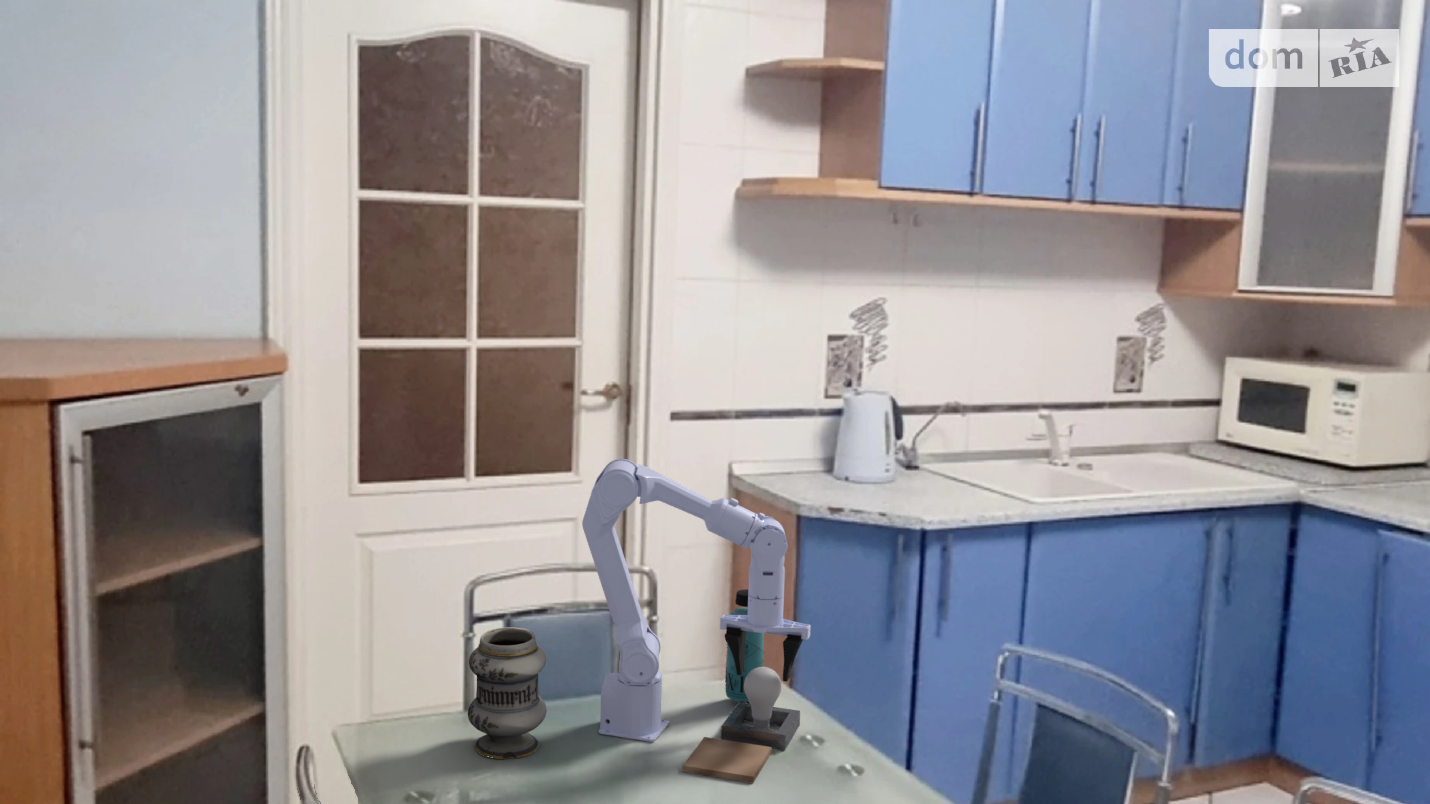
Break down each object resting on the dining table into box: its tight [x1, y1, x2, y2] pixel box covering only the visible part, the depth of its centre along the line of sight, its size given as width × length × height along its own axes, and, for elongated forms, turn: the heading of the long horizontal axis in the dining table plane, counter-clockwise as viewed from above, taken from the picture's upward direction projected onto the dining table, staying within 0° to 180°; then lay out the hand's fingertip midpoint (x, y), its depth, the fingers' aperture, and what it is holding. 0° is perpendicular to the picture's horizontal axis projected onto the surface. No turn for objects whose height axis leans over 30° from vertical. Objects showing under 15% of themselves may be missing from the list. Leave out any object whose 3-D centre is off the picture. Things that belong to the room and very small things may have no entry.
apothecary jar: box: [467, 626, 548, 760], centre depth 186 cm, size 12×12×18 cm
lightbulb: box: [744, 666, 783, 729], centre depth 195 cm, size 6×6×11 cm
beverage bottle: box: [724, 588, 765, 703], centre depth 206 cm, size 6×7×20 cm
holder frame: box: [720, 701, 801, 751], centre depth 195 cm, size 10×10×2 cm
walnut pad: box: [682, 736, 772, 784], centre depth 184 cm, size 11×11×1 cm
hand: (763, 676), depth 194 cm, fingers open, 7 cm apart
